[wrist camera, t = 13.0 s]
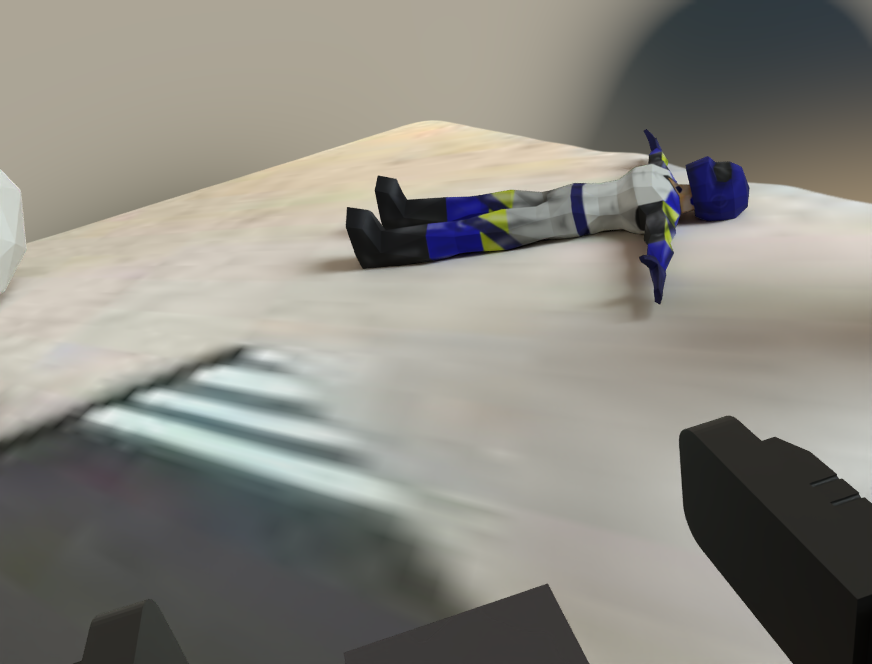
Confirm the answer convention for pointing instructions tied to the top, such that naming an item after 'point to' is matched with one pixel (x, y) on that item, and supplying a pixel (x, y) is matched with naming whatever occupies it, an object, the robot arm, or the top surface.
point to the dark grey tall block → (485, 636)
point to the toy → (548, 214)
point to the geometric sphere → (10, 230)
